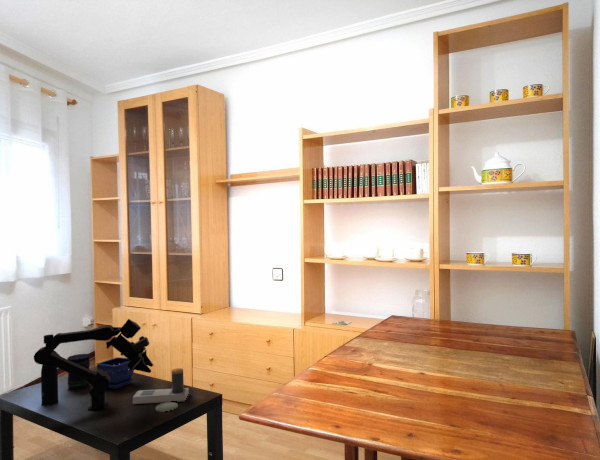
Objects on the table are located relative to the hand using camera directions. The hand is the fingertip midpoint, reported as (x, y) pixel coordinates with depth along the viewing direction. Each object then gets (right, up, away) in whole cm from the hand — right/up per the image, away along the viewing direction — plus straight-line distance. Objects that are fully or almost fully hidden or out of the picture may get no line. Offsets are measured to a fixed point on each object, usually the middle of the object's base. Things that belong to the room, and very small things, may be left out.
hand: (151, 368), depth 192 cm
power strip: (+4, -14, +1) cm, 14 cm away
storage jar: (-43, -16, +20) cm, 50 cm away
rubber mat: (+9, -13, -9) cm, 19 cm away
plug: (+11, -14, +1) cm, 18 cm away
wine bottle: (-45, -15, 0) cm, 48 cm away
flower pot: (-25, -15, +22) cm, 36 cm away
